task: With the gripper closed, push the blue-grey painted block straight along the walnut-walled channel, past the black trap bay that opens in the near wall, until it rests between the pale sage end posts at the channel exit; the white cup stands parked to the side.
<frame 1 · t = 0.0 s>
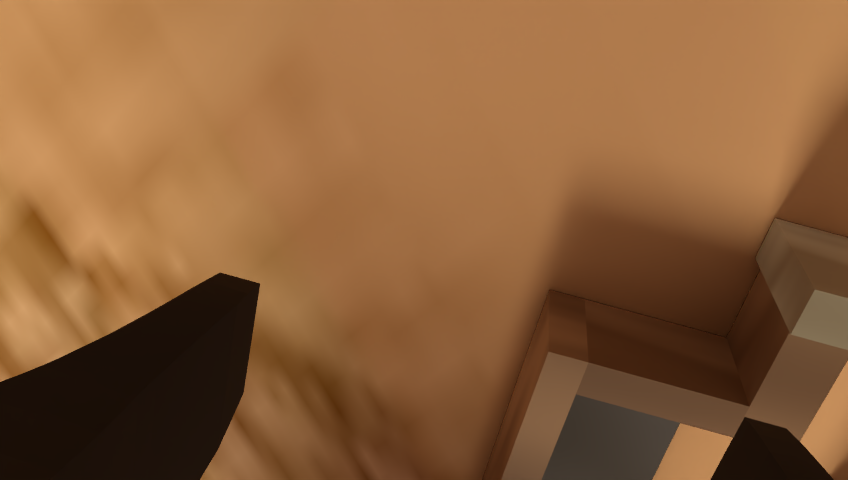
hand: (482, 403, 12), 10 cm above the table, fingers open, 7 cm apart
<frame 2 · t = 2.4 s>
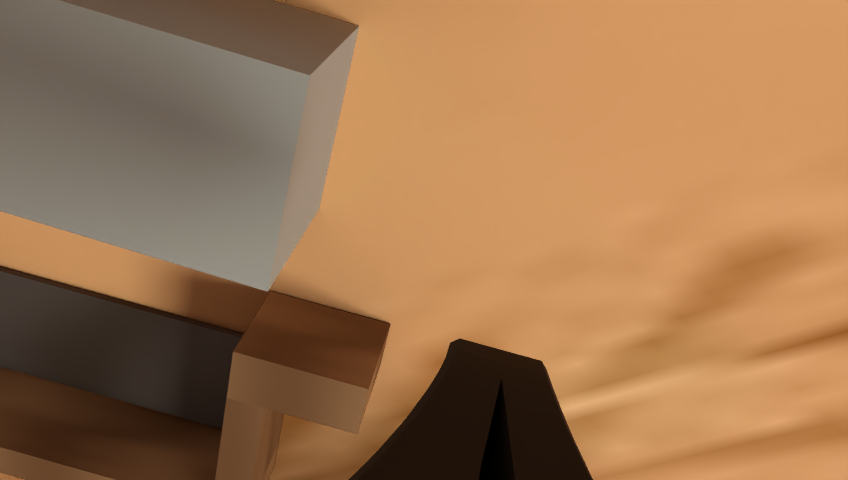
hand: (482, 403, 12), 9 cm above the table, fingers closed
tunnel: (127, 62, 20), on the table
block: (206, 81, 20), on the table
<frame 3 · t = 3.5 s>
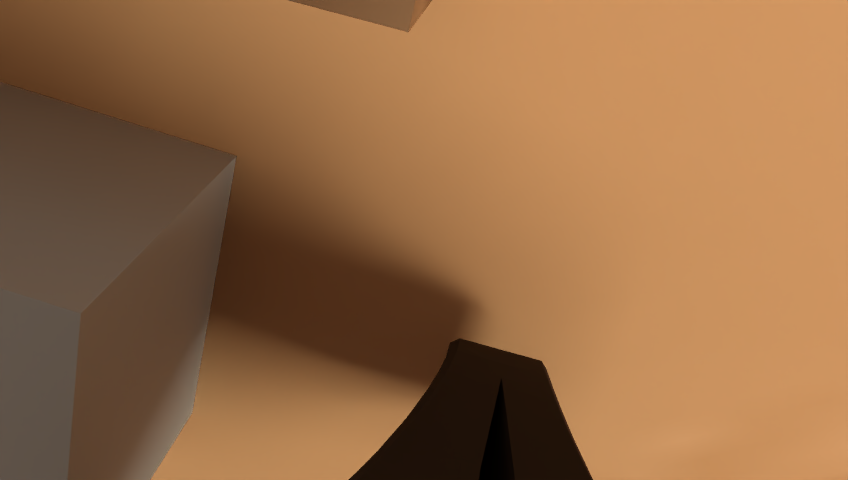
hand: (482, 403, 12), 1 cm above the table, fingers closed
block: (8, 226, 13), on the table
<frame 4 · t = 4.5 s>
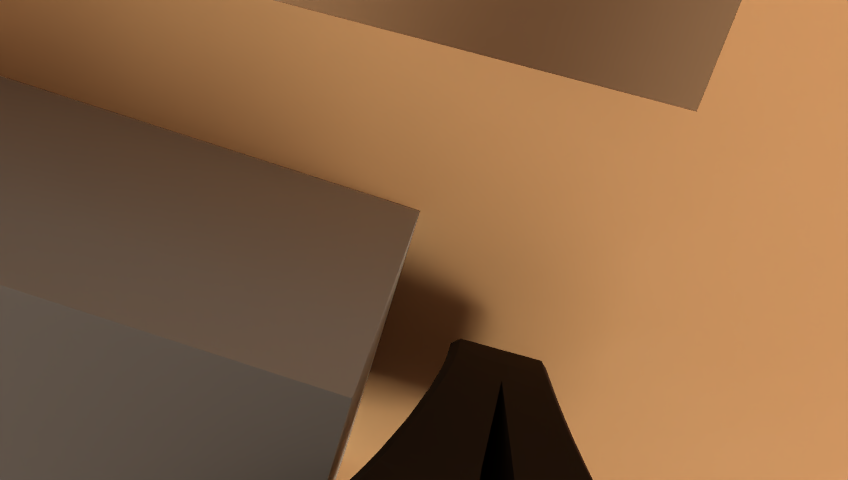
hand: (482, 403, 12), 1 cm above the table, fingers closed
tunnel: (44, 247, 13), on the table
block: (170, 274, 13), on the table, touching gripper
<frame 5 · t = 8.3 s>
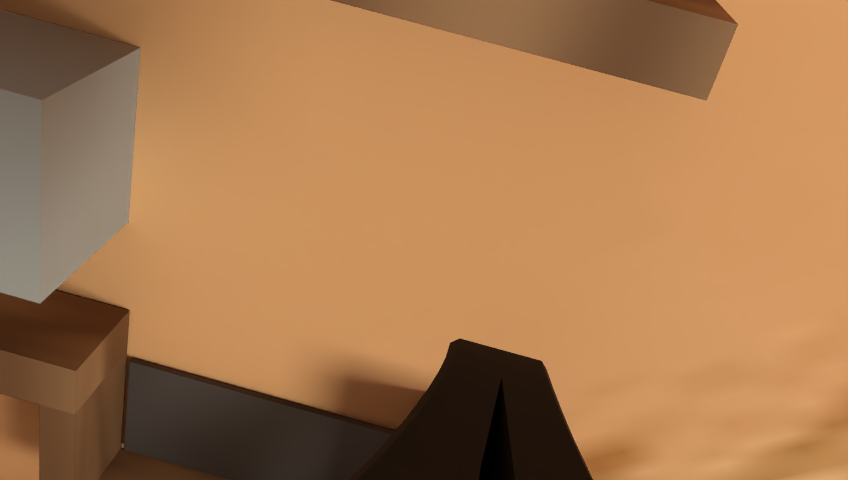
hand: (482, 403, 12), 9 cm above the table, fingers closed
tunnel: (306, 184, 21), on the table
block: (10, 102, 21), on the table
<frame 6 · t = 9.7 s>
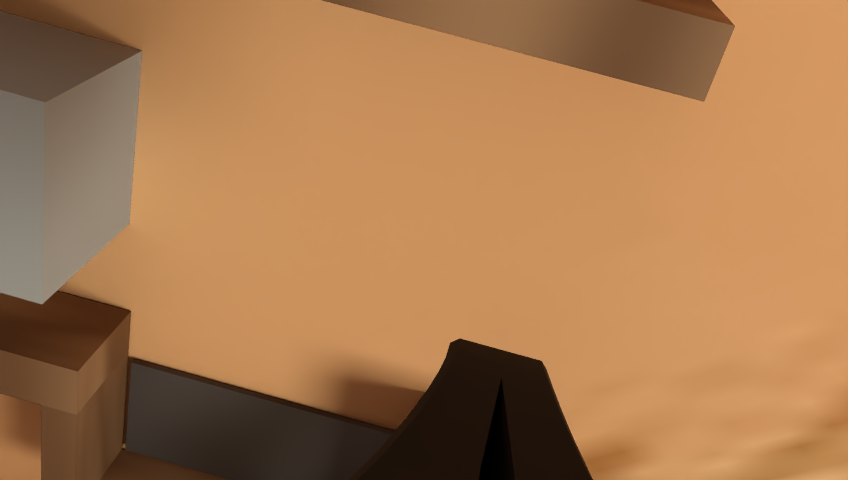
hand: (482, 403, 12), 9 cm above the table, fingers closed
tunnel: (306, 185, 21), on the table
block: (12, 104, 22), on the table
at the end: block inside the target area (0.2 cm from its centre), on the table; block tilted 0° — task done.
